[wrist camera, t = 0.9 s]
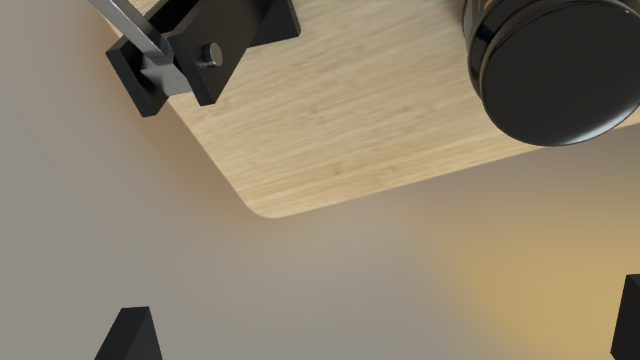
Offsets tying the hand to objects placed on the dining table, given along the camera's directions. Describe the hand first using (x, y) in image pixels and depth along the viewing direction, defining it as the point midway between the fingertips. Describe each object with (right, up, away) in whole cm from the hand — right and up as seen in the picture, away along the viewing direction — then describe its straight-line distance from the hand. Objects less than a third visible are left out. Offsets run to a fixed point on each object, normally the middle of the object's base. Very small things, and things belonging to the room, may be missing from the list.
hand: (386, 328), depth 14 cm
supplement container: (+14, +18, +25) cm, 34 cm away
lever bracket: (-9, +20, +27) cm, 35 cm away
